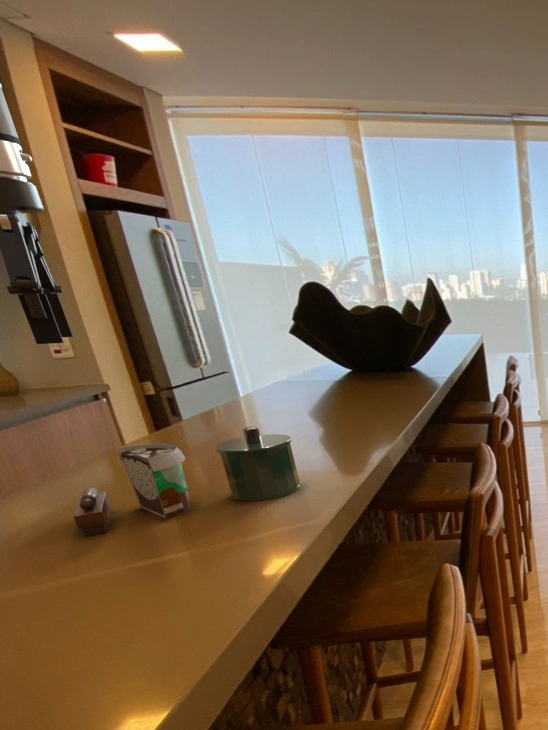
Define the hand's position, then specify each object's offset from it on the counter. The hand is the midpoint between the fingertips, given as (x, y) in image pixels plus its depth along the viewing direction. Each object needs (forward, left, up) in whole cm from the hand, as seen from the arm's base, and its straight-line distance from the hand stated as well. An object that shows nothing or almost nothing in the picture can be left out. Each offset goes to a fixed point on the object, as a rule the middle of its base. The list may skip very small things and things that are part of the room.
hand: (56, 340), depth 85 cm
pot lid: (+9, +20, -18) cm, 29 cm away
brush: (+9, -2, -27) cm, 28 cm away
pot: (+9, +20, -27) cm, 35 cm away
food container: (+8, +7, -27) cm, 29 cm away
